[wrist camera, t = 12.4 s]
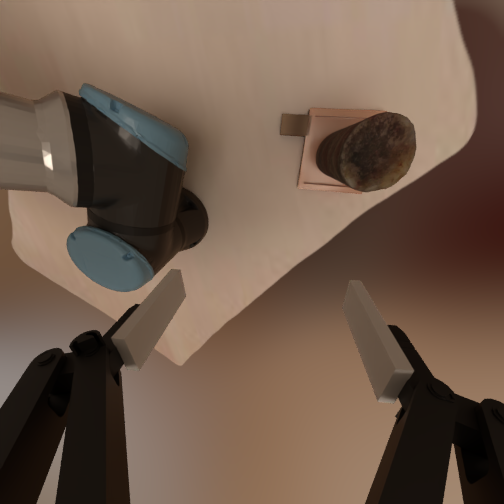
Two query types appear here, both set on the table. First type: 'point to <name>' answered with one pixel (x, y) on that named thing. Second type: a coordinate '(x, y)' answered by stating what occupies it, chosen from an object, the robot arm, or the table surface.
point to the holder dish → (319, 130)
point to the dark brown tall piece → (369, 152)
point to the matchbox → (295, 125)
